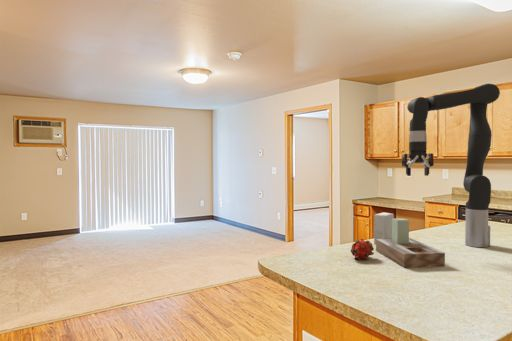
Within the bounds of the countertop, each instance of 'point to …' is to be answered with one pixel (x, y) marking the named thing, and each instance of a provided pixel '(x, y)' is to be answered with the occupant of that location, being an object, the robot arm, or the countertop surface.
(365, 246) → the dragon fruit
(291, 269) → the countertop surface
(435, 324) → the countertop surface
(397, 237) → the square peg
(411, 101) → the robot arm
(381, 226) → the skincare box
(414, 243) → the block
